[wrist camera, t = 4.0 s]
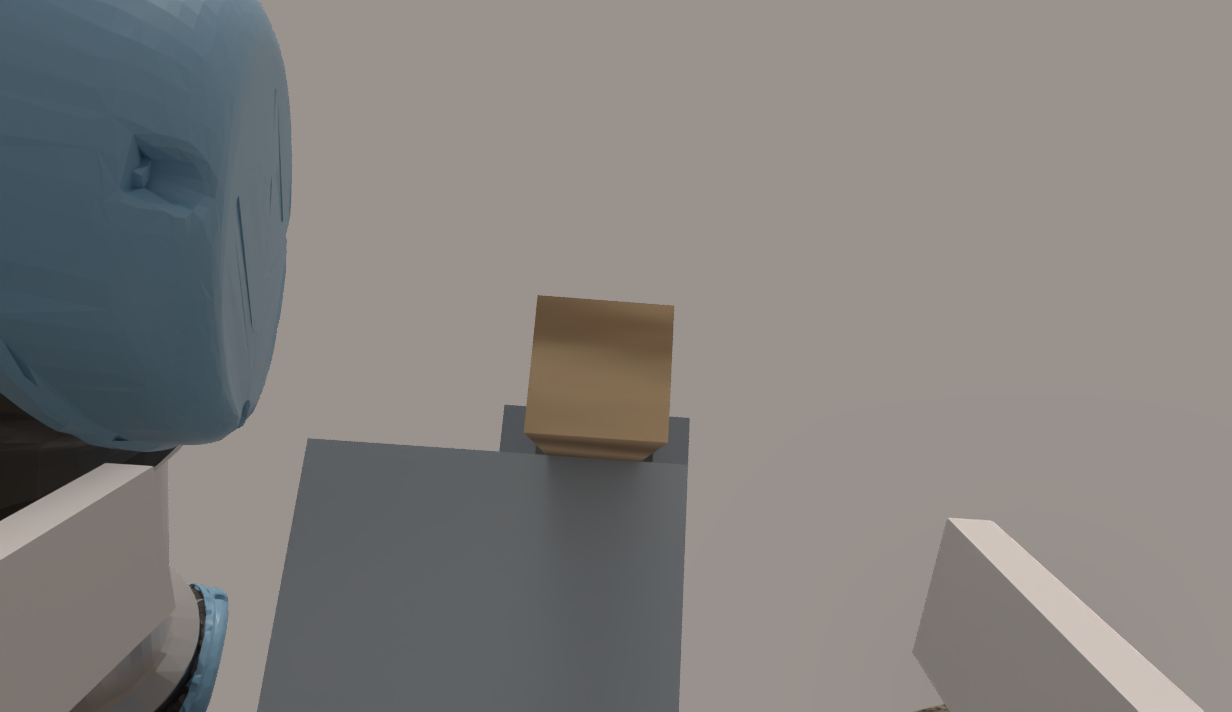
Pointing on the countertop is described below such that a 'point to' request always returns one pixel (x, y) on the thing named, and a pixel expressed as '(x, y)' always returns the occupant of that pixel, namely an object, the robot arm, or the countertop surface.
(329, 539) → the stand
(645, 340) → the oak block
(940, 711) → the countertop surface
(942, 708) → the countertop surface
